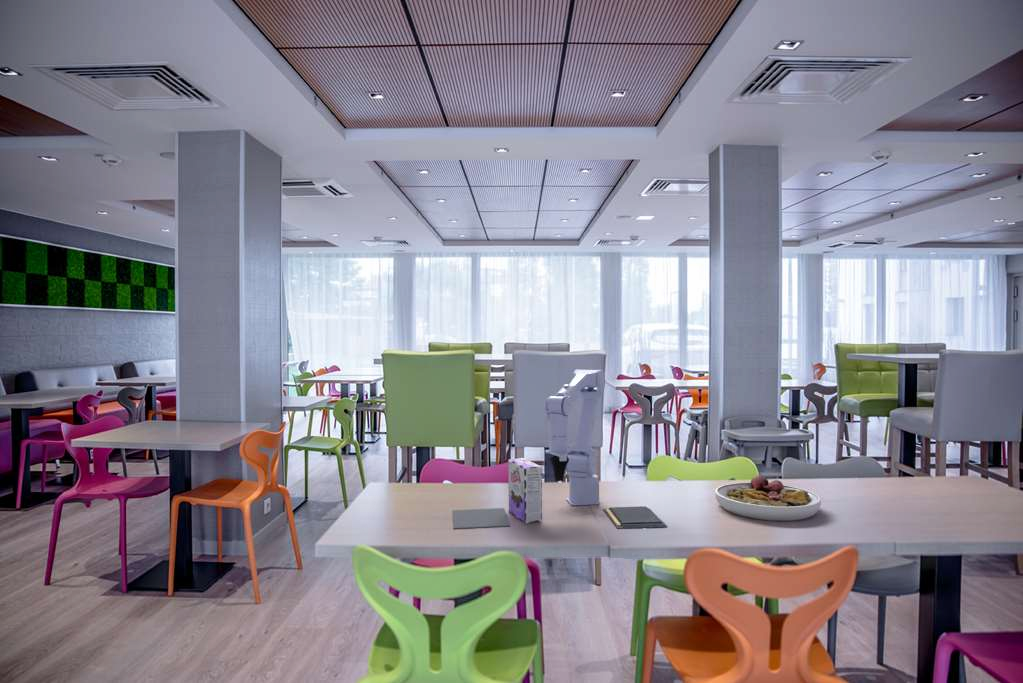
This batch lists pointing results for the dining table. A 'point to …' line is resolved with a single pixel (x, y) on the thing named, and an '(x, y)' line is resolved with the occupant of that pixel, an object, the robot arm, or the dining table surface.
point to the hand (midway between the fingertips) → (559, 480)
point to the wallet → (633, 518)
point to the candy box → (525, 490)
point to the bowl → (768, 500)
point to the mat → (480, 518)
